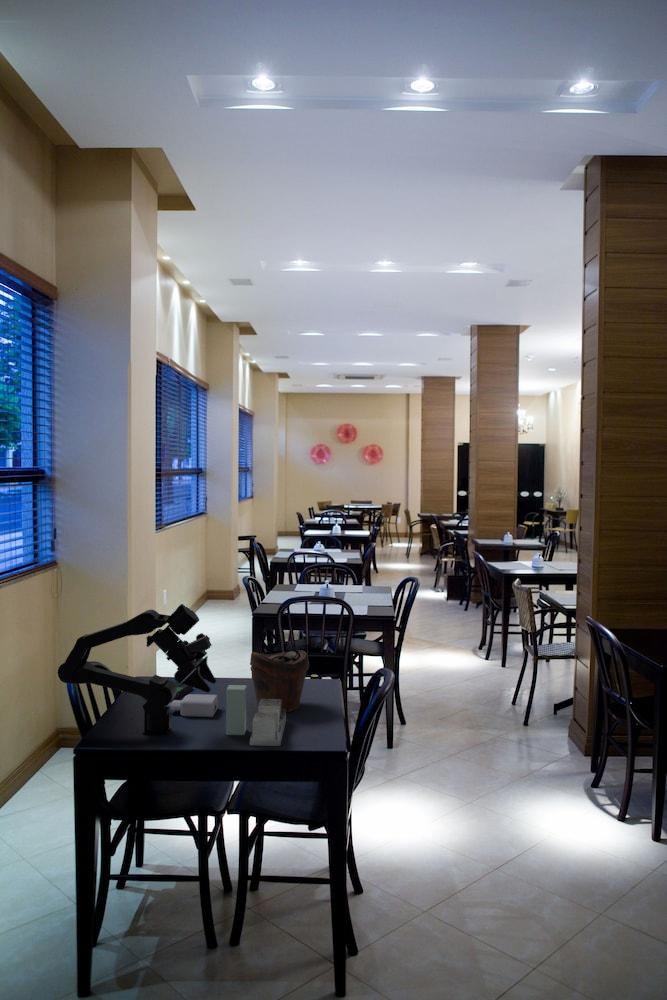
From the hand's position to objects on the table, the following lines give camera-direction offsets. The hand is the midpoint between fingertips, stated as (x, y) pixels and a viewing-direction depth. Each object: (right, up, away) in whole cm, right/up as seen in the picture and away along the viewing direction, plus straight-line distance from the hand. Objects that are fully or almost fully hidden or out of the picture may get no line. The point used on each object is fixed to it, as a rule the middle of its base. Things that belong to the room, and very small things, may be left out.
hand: (212, 686), depth 209 cm
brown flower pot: (+17, -13, +25) cm, 33 cm away
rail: (+16, -13, 0) cm, 20 cm away
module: (+7, -13, 0) cm, 14 cm away
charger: (-10, -13, +18) cm, 24 cm away
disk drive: (-20, -12, +38) cm, 45 cm away
